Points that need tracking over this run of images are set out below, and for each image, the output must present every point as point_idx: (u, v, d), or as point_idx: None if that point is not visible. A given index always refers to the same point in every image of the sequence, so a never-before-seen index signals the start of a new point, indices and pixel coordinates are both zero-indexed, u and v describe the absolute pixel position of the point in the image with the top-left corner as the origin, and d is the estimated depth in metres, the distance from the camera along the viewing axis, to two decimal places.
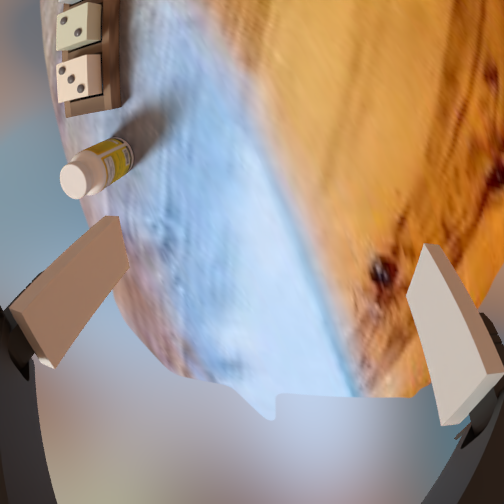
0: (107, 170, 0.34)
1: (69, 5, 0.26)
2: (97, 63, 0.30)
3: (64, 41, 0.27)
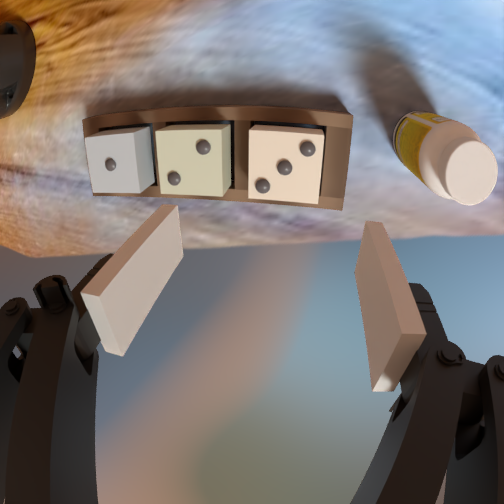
0: None
1: (155, 186, 0.30)
2: (269, 126, 0.24)
3: (211, 177, 0.25)
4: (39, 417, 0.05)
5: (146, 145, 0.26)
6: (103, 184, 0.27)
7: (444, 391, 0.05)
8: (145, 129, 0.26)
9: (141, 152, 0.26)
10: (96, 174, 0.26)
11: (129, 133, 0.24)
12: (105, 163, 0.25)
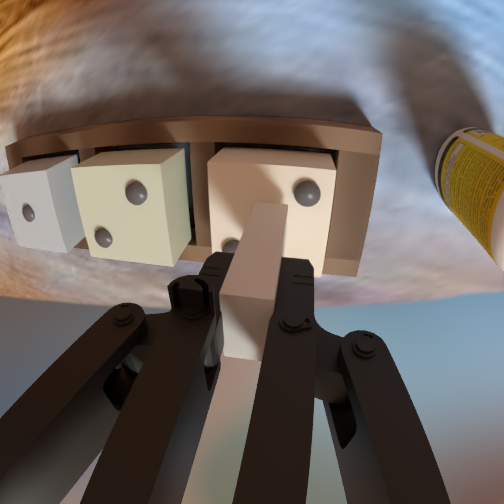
0: None
1: None
2: (245, 150, 0.15)
3: (153, 238, 0.16)
4: (147, 442, 0.05)
5: (72, 183, 0.17)
6: (27, 238, 0.18)
7: (292, 359, 0.06)
8: (68, 160, 0.16)
9: (63, 195, 0.16)
10: (17, 223, 0.17)
11: (42, 171, 0.15)
12: (23, 211, 0.16)
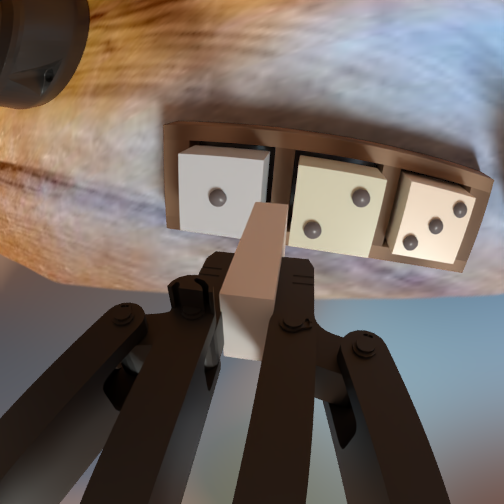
0: None
1: None
2: (418, 176, 0.20)
3: (360, 234, 0.20)
4: (147, 442, 0.05)
5: (266, 176, 0.21)
6: (200, 222, 0.22)
7: (292, 359, 0.06)
8: (268, 155, 0.21)
9: (263, 186, 0.21)
10: (191, 206, 0.21)
11: (256, 160, 0.19)
12: (209, 195, 0.20)
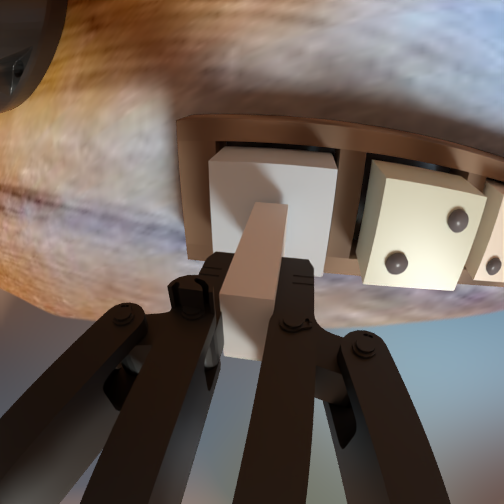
0: None
1: None
2: (499, 184, 0.14)
3: (451, 264, 0.14)
4: (147, 442, 0.05)
5: None
6: None
7: (292, 359, 0.06)
8: None
9: None
10: (230, 235, 0.15)
11: (326, 168, 0.13)
12: None
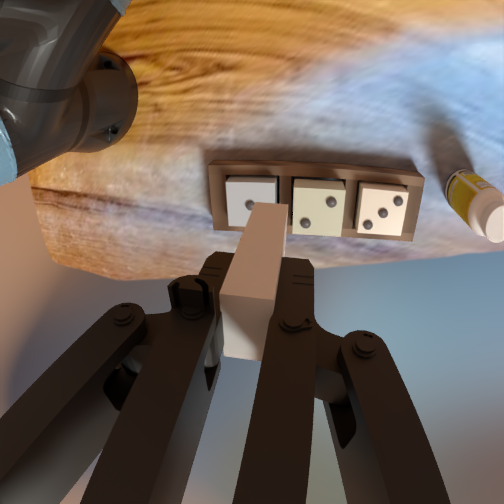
0: (492, 186, 0.26)
1: None
2: (370, 182, 0.35)
3: (334, 223, 0.34)
4: (147, 442, 0.05)
5: (276, 190, 0.37)
6: (241, 220, 0.38)
7: (292, 359, 0.06)
8: (276, 178, 0.36)
9: (275, 196, 0.36)
10: (235, 211, 0.37)
11: (270, 183, 0.35)
12: (245, 204, 0.36)
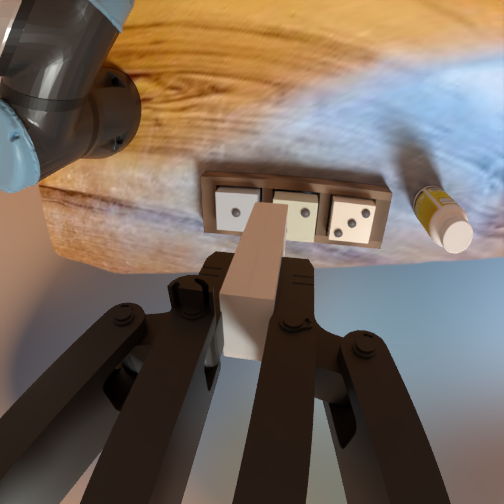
0: (453, 203, 0.33)
1: None
2: (342, 196, 0.41)
3: (307, 231, 0.40)
4: (147, 442, 0.05)
5: (259, 200, 0.43)
6: (227, 225, 0.43)
7: (292, 359, 0.06)
8: (259, 189, 0.42)
9: None
10: (223, 217, 0.43)
11: (253, 194, 0.40)
12: (232, 211, 0.42)
